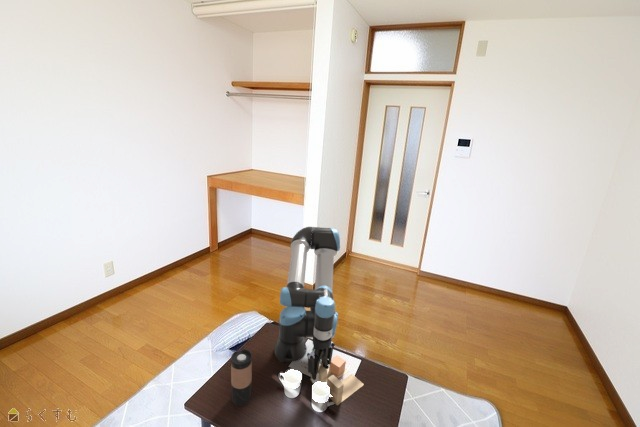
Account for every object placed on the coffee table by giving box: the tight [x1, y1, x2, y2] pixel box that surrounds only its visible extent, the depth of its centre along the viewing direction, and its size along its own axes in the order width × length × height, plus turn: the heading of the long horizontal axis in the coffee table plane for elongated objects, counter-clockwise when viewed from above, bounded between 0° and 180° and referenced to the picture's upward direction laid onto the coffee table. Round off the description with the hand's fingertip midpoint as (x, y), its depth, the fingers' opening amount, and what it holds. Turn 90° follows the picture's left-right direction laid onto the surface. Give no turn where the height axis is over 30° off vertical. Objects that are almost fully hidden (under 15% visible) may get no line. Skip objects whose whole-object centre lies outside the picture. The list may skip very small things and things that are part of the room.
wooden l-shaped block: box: [327, 373, 365, 406], centre depth 123 cm, size 7×16×9 cm, turn 132°
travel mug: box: [230, 349, 253, 407], centre depth 115 cm, size 8×8×20 cm
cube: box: [328, 354, 347, 377], centre depth 133 cm, size 5×5×5 cm
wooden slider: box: [310, 363, 349, 382], centre depth 129 cm, size 7×16×9 cm, turn 132°
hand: (318, 381), depth 126 cm, fingers closed on wooden slider, 3 cm apart
